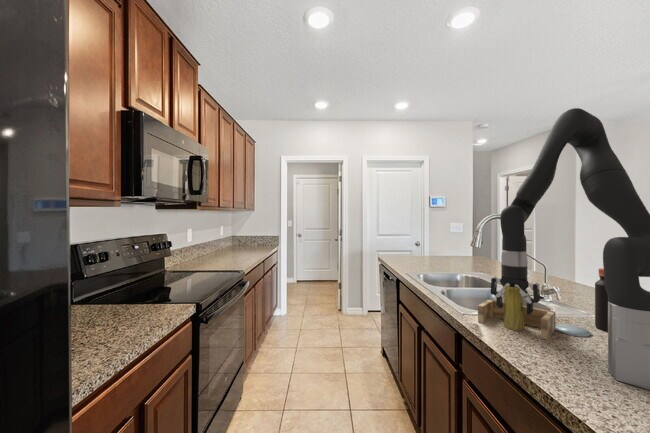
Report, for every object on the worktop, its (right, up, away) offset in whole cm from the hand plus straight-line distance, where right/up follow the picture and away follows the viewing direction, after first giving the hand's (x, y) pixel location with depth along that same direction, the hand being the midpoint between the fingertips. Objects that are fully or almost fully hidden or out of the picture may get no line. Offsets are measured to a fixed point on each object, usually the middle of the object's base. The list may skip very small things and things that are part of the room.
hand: (514, 310), depth 100 cm
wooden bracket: (0, -6, 0) cm, 6 cm away
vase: (0, -6, 0) cm, 6 cm away
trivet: (+16, -6, -4) cm, 18 cm away
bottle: (+30, -6, -3) cm, 31 cm away
